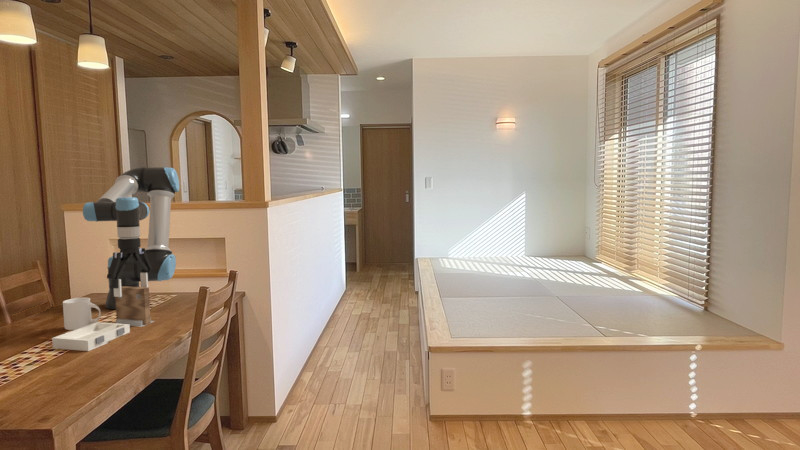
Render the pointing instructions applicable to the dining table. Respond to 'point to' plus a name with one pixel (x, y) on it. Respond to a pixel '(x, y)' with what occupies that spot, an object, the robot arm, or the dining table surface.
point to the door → (134, 304)
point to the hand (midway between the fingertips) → (131, 292)
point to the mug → (78, 313)
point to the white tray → (90, 336)
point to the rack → (131, 322)
